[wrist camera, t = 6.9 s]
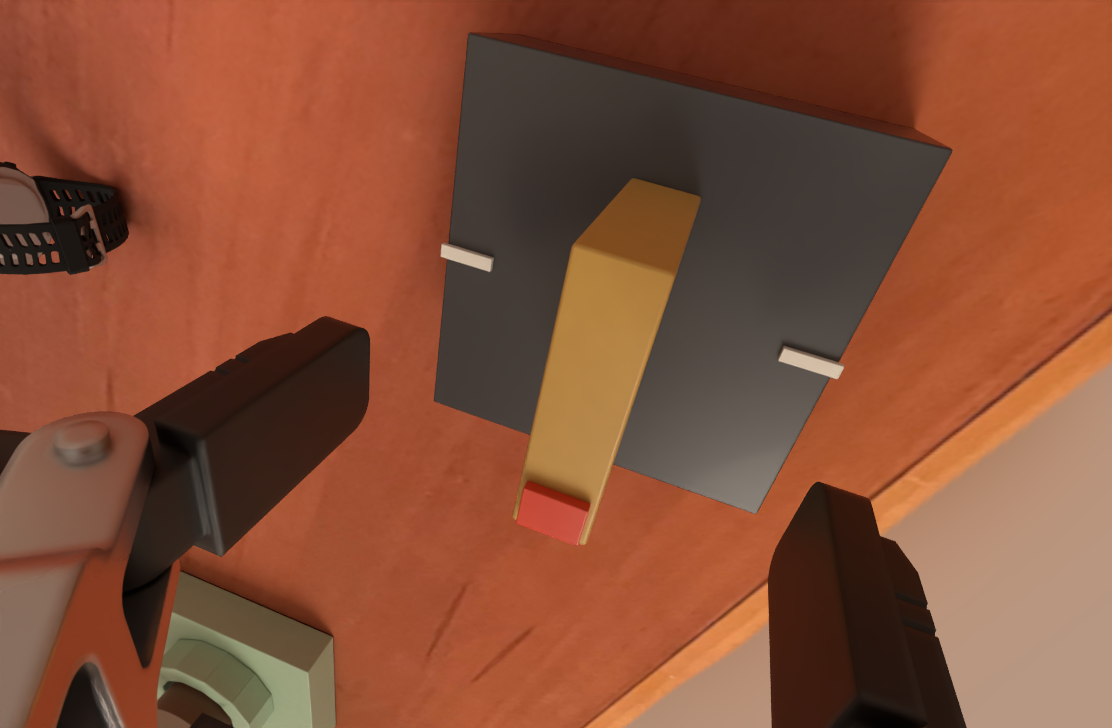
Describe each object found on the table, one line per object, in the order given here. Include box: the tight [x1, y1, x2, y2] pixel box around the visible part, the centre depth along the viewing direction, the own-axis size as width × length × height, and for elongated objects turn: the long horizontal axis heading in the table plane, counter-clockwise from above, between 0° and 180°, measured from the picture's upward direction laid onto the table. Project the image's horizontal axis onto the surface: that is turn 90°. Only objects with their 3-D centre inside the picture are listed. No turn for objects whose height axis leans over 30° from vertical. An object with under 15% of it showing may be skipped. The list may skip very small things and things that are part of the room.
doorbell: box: [157, 571, 336, 728], centre depth 34 cm, size 12×10×4 cm
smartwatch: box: [0, 162, 129, 275], centre depth 20 cm, size 4×5×5 cm
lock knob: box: [513, 178, 701, 546], centre depth 12 cm, size 6×2×5 cm, turn 168°
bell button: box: [157, 681, 232, 728], centre depth 32 cm, size 4×4×2 cm
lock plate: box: [434, 32, 952, 514], centre depth 15 cm, size 10×10×3 cm
